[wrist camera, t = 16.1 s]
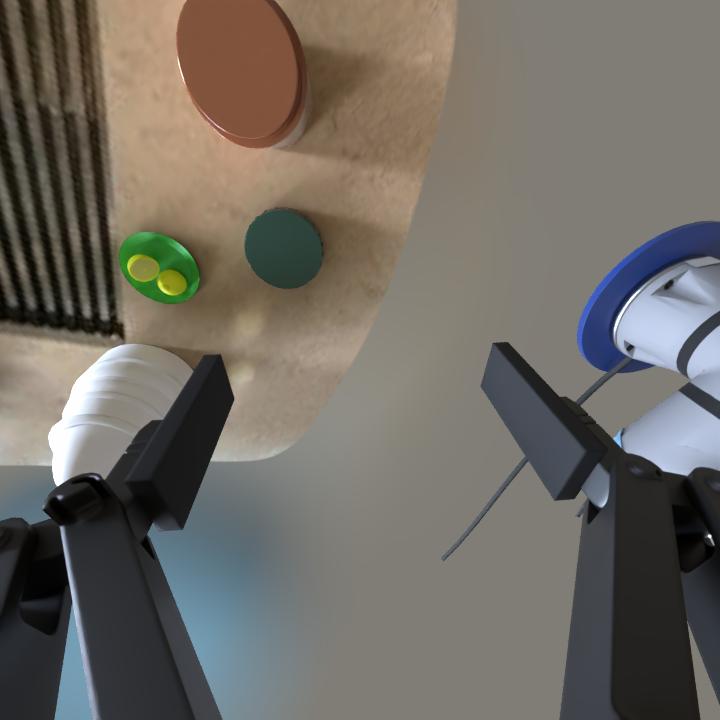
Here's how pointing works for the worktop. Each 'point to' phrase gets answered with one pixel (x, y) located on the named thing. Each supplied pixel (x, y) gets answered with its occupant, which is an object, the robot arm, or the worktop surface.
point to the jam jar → (245, 71)
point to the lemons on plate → (159, 267)
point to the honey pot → (114, 407)
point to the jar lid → (284, 248)
